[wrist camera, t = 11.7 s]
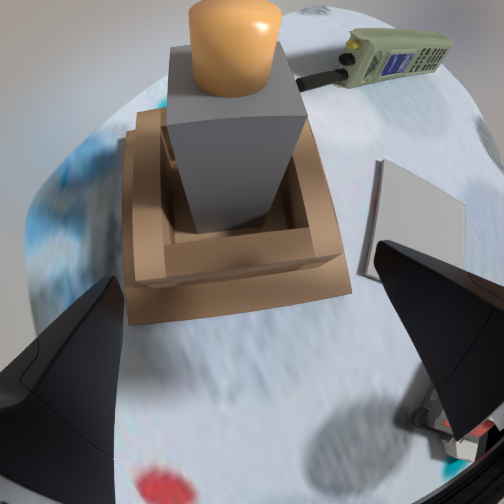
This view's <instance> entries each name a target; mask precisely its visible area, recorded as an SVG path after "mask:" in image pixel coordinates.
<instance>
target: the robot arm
mask: <svg viewBox="0 0 504 504" xmlns="http://www.w3.org/2000/svg"><path fill="white" fill-rule="evenodd" d="M373 263H374V267H375V269H376V271H377V274H378V276H379V278H380V280H381V282H382V284H383V287H384V289H385V291H386V293H387V295H388V297H389V299H390V301H391V303H392V305H393V307H394V309H395V310H396V312H397V314H398V316H399V318H400V319H401V321H402V323H403V325H404V327H405V329H406V331H407V333H408V334H409V336H410V338H411V340H412V342H413V344H414V346H415V348H416V350H417V352H418V354H419V356H420V358H421V360H422V362H423V364H424V366H425V369H426V371H427V373H428V375H429V377H430V379H431V381H432V384H433V386H434V388H435V390H436V393H437V395H438V398H439V400H440V402H441V405H442V407H443V409H444V412H445V414H446V417H447V419H448V422H449V424H450V427H451V430H452V432H453V435H454V438H455V440H456V442H458V441H459V440H461V439H462V438H463V437H465V436H466V435H468V434H469V433H470V432H472V431H473V430H474V429H476V428H477V427H478V426H479V425H481V424H482V423H483V422H484V421H486V420H487V419H488V418H489V417H492V419H493V421H494V423H495V424H494V425H493V426H492V427H491V428H490V429H489V430H487V431H486V432H485V433H484V434H483V435H481V436H480V438H479V443H478V447H477V452H476V456H475V460H474V463H473V464H471V465H470V466H469V467H467V468H466V469H465V470H463V471H462V472H461V473H459V474H458V475H457V476H455V477H454V478H452V479H451V480H450V481H448V482H447V483H445V484H444V485H442V486H441V487H439V488H437V489H436V490H434V491H433V492H431V493H429V494H428V495H426V496H424V497H423V498H421V499H419V500H418V501H416V502H414V503H412V504H504V287H503V286H501V285H498V284H496V283H493V282H491V281H489V280H486V279H484V278H481V277H479V276H477V275H475V274H472V273H470V272H467V271H465V270H463V269H461V268H458V267H456V266H454V265H451V264H449V263H447V262H444V261H442V260H439V259H437V258H434V257H432V256H430V255H427V254H425V253H422V252H420V251H417V250H415V249H412V248H409V247H407V246H404V245H402V244H399V243H396V242H394V241H391V240H381V241H379V242H378V243H377V246H376V251H375V255H374V260H373ZM123 313H124V296H123V293H122V291H121V288H120V285H119V283H118V280H117V278H116V277H115V276H114V275H112V276H104V277H102V278H101V279H100V280H99V281H98V282H97V283H95V284H94V285H93V286H92V287H91V288H90V289H89V290H87V291H86V292H85V293H84V294H83V295H82V296H81V297H79V298H78V299H77V300H76V301H75V302H74V303H73V304H72V305H71V306H69V307H68V308H67V309H66V310H65V311H64V312H63V313H62V314H61V315H60V316H59V317H58V318H57V319H55V320H54V321H53V322H52V323H51V324H50V325H49V326H48V327H47V328H46V329H45V330H44V331H43V332H42V333H41V334H40V335H39V336H38V338H36V339H35V340H34V341H33V342H32V343H31V344H30V345H29V346H28V347H27V348H26V349H25V350H24V351H23V352H22V353H21V354H20V355H19V356H17V357H16V358H15V359H14V360H13V361H12V362H11V363H10V364H9V365H8V366H7V367H5V369H3V370H2V371H1V372H0V504H116V502H115V485H114V460H113V459H114V424H115V406H116V393H117V382H118V372H119V363H120V355H121V348H122V337H123Z"/></svg>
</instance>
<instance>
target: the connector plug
mask: <svg viewBox="0 0 504 504" xmlns="http://www.w3.org/2000/svg"><path fill="white" fill-rule="evenodd" d="M281 18H282V13H281V11H280V9H279V8H278V7H277V6H275V5H274V4H272V3H270V2H268V1H266V0H202V1H200V2H198V3H196V4H195V5H193V6H192V7H191V8H190V10H189V27H190V42H191V45H185V46H178V47H171V48H170V60H169V75H168V93H167V129H168V133H169V137H170V140H171V144H172V148H173V152H174V155H175V159H176V162H177V166H178V169H179V173H180V176H181V180H182V183H183V187H184V190H185V193H186V197H187V200H188V203H189V207H190V210H191V213H192V217H193V220H194V223H195V226H196V229H197V233H198V234H204V233H213V232H221V231H229V230H238V229H246V228H255V227H263V224H264V222H265V219H266V217H267V215H268V212H269V210H270V207H271V205H272V202H273V200H274V197H275V195H276V192H277V190H278V188H279V185H280V183H281V180H282V178H283V175H284V173H285V170H286V168H287V166H288V163H289V161H290V158H291V156H292V153H293V151H294V148H295V146H296V144H297V141H298V139H299V136H300V134H301V131H302V129H303V126H304V124H305V122H306V119H307V117H308V115H307V112H306V109H305V106H304V103H303V100H302V97H301V95H300V92H299V89H298V86H297V84H296V81H295V78H294V76H293V73H292V71H291V68H290V66H289V63H288V61H287V58H286V56H285V53H284V51H283V48H282V46H281V44H280V42H277V37H278V33H279V28H280V23H281Z"/></svg>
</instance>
